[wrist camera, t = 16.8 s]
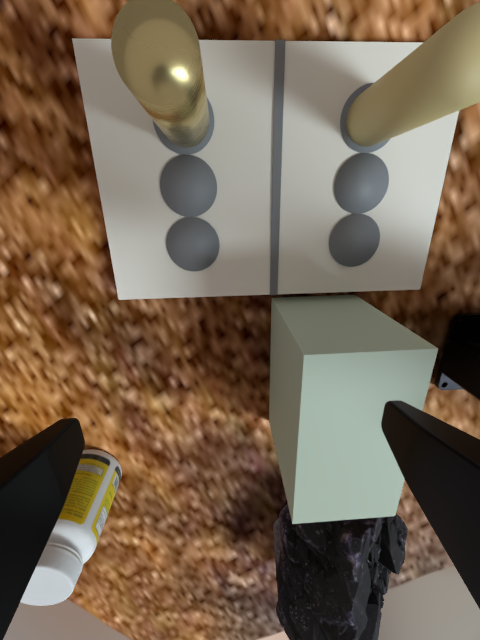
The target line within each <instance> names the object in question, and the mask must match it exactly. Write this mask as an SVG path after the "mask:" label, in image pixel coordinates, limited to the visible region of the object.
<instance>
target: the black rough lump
mask: <svg viewBox="0 0 480 640" xmlns="http://www.w3.org/2000/svg"><path fill="white" fill-rule="evenodd" d="M273 536H274V551H275V561H276V580H277V587H278V602H277V606H276V613H277V616H278V618H279V621H280V624H281V626H282V627H283V628H284V630H285V633H286V634H287V636H288V638H289V639H290V640H378V635H379V627H380V620H381V611H380V610H381V608H382V607H383V601H384V599H383V595H384V594H386V593H387V590H388V583H389V576H388V574H390V573H391V571H392V572H393V573H395V574H399V572H400V569H401V566H402V564H403V563H404V559H405V541H406V537H407V527H406V525H405V523H404V522H403V521H402V519H401V518H400V517H399V516H398V515H397V514H396V515H395V516H390V517H377V518H364V519H351V520H338V521H325V522H312V523H299V524H292V520H291V516H290V511H289V507H288V503H287V504H286V505H285V507H284V508H283V509H282V510H281V512H280V514H279V518H278V519H277V520H276V521H275V522H274V524H273Z"/></svg>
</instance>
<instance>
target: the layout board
mask: <svg viewBox="0 0 480 640" xmlns="http://www.w3.org/2000/svg"><path fill="white" fill-rule="evenodd" d="M72 42H73V47H74V53H75V58H76V64H77V70H78V75H79V81H80V86H81V92H82V98H83V103H84V109H85V114H86V120H87V126H88V131H89V137H90V142H91V148H92V154H93V159H94V165H95V170H96V176H97V182H98V187H99V193H100V198H101V204H102V210H103V215H104V221H105V226H106V232H107V238H108V243H109V249H110V254H111V260H112V266H113V271H114V277H115V282H116V288H117V294H118V299H119V300H126V299H156V298H185V297H215V296H244V295H277V294H303V293H332V292H362V291H391V290H420V288H421V283H422V279H423V274H424V269H425V265H426V260H427V256H428V251H429V246H430V242H431V237H432V233H433V228H434V224H435V219H436V214H437V210H438V205H439V201H440V196H441V191H442V187H443V182H444V178H445V173H446V168H447V164H448V159H449V155H450V150H451V145H452V141H453V136H454V132H455V127H456V122H457V118H458V113H459V110H461V109H464V108H466V107H469V106H471V105H473V104H476V103H478V102H480V3H477V4H474V5H472V6H470V7H468V8H466V9H464V10H463V11H462V12H460V13H459V14H458V15H457V16H455V17H454V18H453V19H452V20H451V21H449V22H448V23H447V24H446V25H444V26H443V27H442V28H441V29H440V30H438V31H437V32H436V33H435V34H433V35H432V36H431V37H430V38H429V39H427V40H426V41H425V42H339V41H285V40H275V41H251V40H199V44H200V52H201V59H202V66H203V74H204V81H205V89H206V96H207V103H208V111H209V118H210V123H209V129H208V132H207V135H206V136H205V138H204V139H203V141H202V142H201V143H199V144H198V145H196V146H194V147H190V148H183V147H179V146H177V145H175V144H173V143H172V142H171V141H169V139H168V138H167V137H166V136H165V135H164V133H163V132H162V131H161V130H160V128H159V127H158V126H157V124H156V123H155V122H154V121H153V119H152V118H151V117H150V116H149V114H148V113H147V112H146V110H145V109H144V108H143V107H142V105H141V104H140V103H139V102H138V100H137V99H136V98H135V97H134V95H133V94H132V93H131V91H130V90H129V89H128V88H127V86H126V85H125V84H124V82H123V81H122V79H121V77H120V76H119V74H118V71H117V69H116V67H115V63H114V60H113V56H112V49H111V39H76V38H72Z"/></svg>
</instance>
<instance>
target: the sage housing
mask: <svg viewBox="0 0 480 640" xmlns="http://www.w3.org/2000/svg"><path fill="white" fill-rule="evenodd" d="M437 352H438V348H437V347H435V346H434V345H432V344H430V343H429V342H427V341H426V340H424V339H423V338H421V337H420V336H418V335H417V334H415V333H413V332H412V331H410V330H409V329H407V328H406V327H404V326H403V325H401V324H400V323H398V322H396V321H395V320H393V319H392V318H390V317H389V316H387V315H386V314H384V313H383V312H381V311H379V310H378V309H376V308H375V307H373V306H372V305H370V304H369V303H367V302H365V301H364V300H362V299H361V298H359V297H358V296H356V295H330V296H304V297H277V298H272V301H271V350H270V398H269V423H270V427H271V432H272V436H273V441H274V445H275V449H276V454H277V458H278V463H279V467H280V472H281V476H282V480H283V485H284V489H285V494H286V498H287V503H288V507H289V511H290V516H291V520H292V524H299V523H312V522H325V521H338V520H351V519H364V518H377V517H390V516H395V515H396V511H397V507H398V503H399V499H400V495H401V491H402V488H403V484H404V480H405V479H404V477H403V475H402V473H401V470H400V468H399V466H398V464H397V462H396V460H395V457H394V455H393V453H392V451H391V449H390V446H389V444H388V442H387V440H386V438H385V436H384V433H383V431H382V428H381V421H382V416H383V411H384V406H385V403H386V402H387V401H395V400H400V401H403V402H405V403H407V404H409V405H411V406H413V407H415V408H417V409H419V410H421V411H422V410H423V406H424V402H425V399H426V395H427V391H428V387H429V383H430V379H431V375H432V371H433V368H434V364H435V360H436V356H437Z"/></svg>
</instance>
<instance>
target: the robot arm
mask: <svg viewBox="0 0 480 640" xmlns="http://www.w3.org/2000/svg"><path fill="white" fill-rule="evenodd" d="M461 319H462V320H461ZM460 320H461V321H460ZM459 321H460V322H459ZM435 385H436V386H437V387H438V388H439V389H440V390H455V389H464V390H466V391H467V392H468V393H470V394H471V395H472V396H474V397H475V398H476V399H478V400H479V401H480V313H460V314H457V315H455V316H454V317H453V319H452V322H451V326H450V330H449V333H448V337H447V341H446V344H445V348H444V352H443V356H442V359H441V363H440V367H439V370H438V374H437V378H436V381H435ZM381 428H382V431H383V433H384V436H385V438H386V440H387V442H388V444H389V446H390V449H391V451H392V453H393V455H394V457H395V460H396V462H397V464H398V466H399V468H400V470H401V473H402V475H403V477H404V479H405V481H406V482H407V484H408V486H409V488H410V490H411V491H412V493H413V495H414V497H415V498H416V500H417V502H418V503H419V505H420V507H421V509H422V510H423V512H424V514H425V516H426V517H427V519H428V521H429V522H430V524H431V526H432V528H433V529H434V531H435V533H436V534H437V536H438V538H439V540H440V541H441V543H442V545H443V547H444V548H445V550H446V552H447V553H448V555H449V557H450V559H451V560H452V562H453V564H454V566H455V567H456V569H457V571H458V572H459V574H460V576H461V578H462V579H463V581H464V583H465V584H466V586H467V588H468V590H469V591H470V593H471V595H472V596H473V598H474V600H475V602H476V603H477V605H478V607H479V608H480V440H479V439H477V438H475V437H473V436H471V435H469V434H467V433H465V432H463V431H461V430H459V429H457V428H455V427H453V426H451V425H449V424H447V423H445V422H443V421H441V420H439V419H437V418H435V417H433V416H431V415H429V414H427V413H425V412H423V411H421V410H419V409H417V408H415V407H413V406H411V405H409V404H407V403H405V402H403V401H400V400H395V401H387V402H386V403H385V406H384V411H383V416H382V421H381ZM84 445H85V441H84V437H83V433H82V430H81V426H80V423H79V420H78V419H76V418H67V419H61V420H59V421H57V422H56V423H54V424H53V425H51V426H49V427H48V428H46V429H45V430H43V431H42V432H40V433H38V434H37V435H35V436H34V437H32V438H30V439H29V440H27V441H26V442H24V443H23V444H21V445H19V446H18V447H16V448H15V449H13V450H12V451H10V452H8V453H7V454H5V455H4V456H2V457H1V458H0V640H3V638H4V636H5V634H6V631H7V629H8V627H9V625H10V623H11V621H12V618H13V616H14V614H15V612H16V610H17V607H18V605H19V603H20V601H21V599H22V597H23V594H24V592H25V590H26V588H27V586H28V583H29V581H30V579H31V577H32V575H33V573H34V570H35V568H36V566H37V564H38V562H39V559H40V557H41V555H42V553H43V551H44V548H45V546H46V544H47V542H48V540H49V538H50V535H51V533H52V531H53V529H54V527H55V524H56V522H57V520H58V518H59V516H60V513H61V511H62V509H63V507H64V504H65V502H66V499H67V496H68V493H69V491H70V488H71V485H72V482H73V479H74V476H75V473H76V470H77V467H78V465H79V462H80V459H81V456H82V453H83V450H84Z"/></svg>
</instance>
